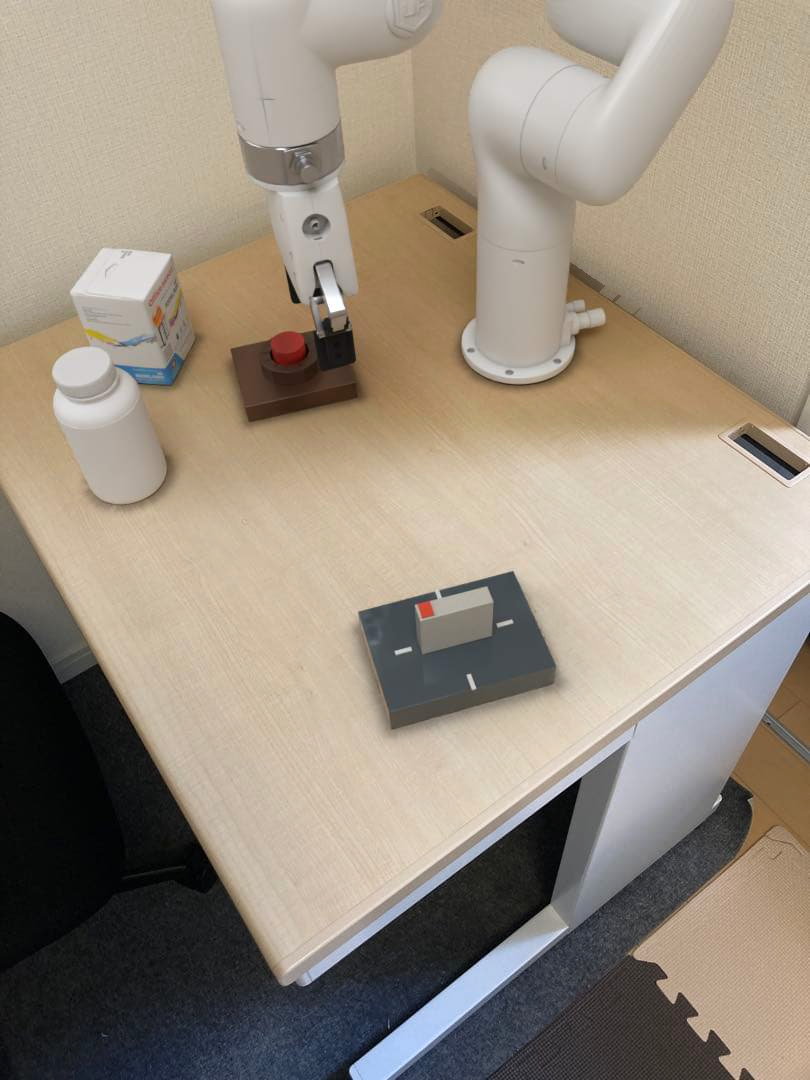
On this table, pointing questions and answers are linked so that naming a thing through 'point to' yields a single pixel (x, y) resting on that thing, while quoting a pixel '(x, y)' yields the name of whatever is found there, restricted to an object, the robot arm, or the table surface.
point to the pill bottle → (107, 426)
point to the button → (288, 348)
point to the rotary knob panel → (455, 656)
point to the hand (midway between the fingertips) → (322, 330)
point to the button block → (287, 381)
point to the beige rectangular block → (454, 620)
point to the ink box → (135, 313)
